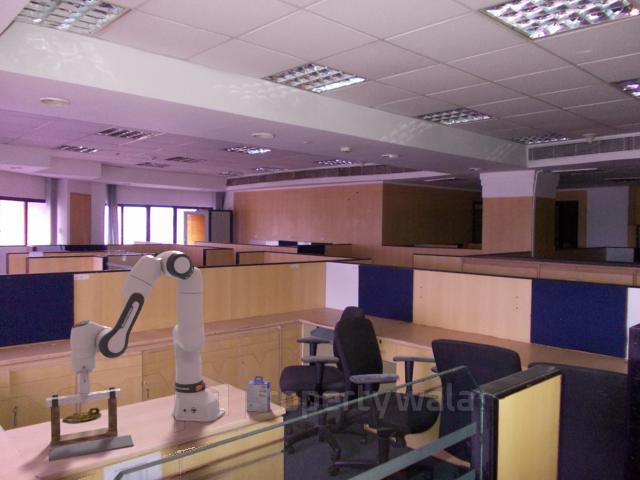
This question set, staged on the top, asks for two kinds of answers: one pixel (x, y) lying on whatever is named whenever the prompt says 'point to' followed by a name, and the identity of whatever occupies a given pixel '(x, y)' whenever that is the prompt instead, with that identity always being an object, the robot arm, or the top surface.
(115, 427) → the hook stand
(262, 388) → the ink cartridge box
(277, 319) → the top surface
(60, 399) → the rail
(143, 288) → the robot arm
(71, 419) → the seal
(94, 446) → the mat
